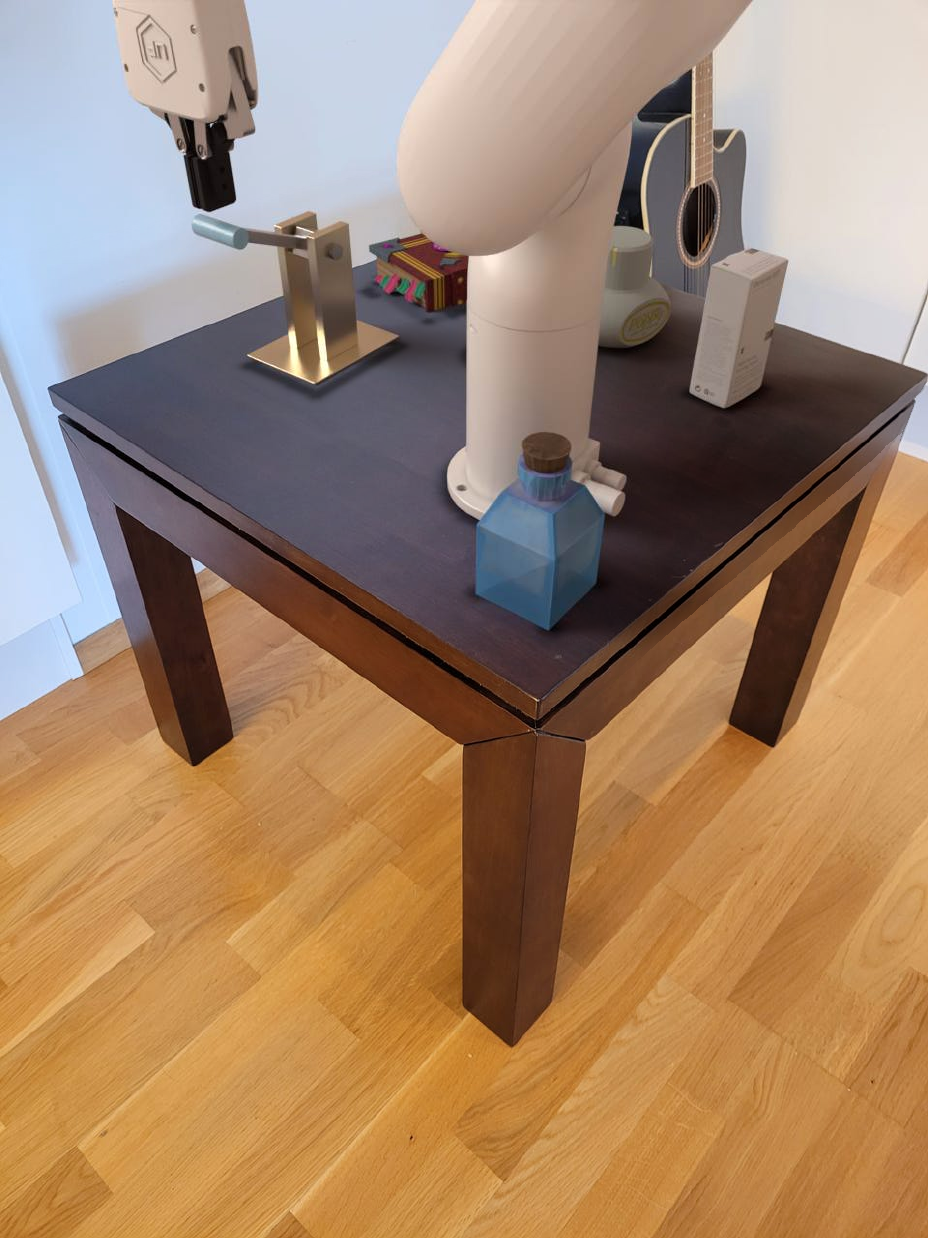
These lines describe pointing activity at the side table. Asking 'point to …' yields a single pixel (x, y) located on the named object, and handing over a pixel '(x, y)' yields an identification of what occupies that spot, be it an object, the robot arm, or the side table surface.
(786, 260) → the cosmetic box
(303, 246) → the tap lever
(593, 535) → the perfume bottle
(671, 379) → the side table surface
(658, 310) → the air freshener
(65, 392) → the side table surface
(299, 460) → the side table surface
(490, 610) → the side table surface
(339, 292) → the bracket
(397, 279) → the decorative book
